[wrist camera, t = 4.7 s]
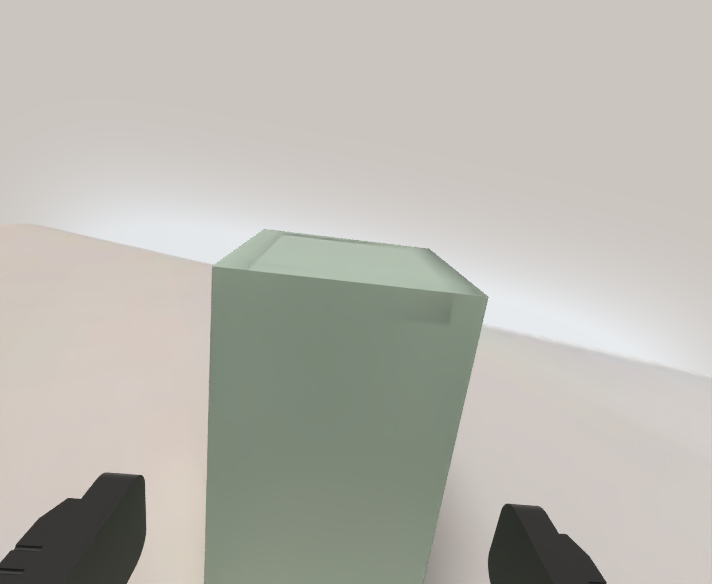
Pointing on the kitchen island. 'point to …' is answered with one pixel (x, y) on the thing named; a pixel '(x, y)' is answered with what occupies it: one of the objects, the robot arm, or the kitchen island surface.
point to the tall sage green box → (332, 408)
